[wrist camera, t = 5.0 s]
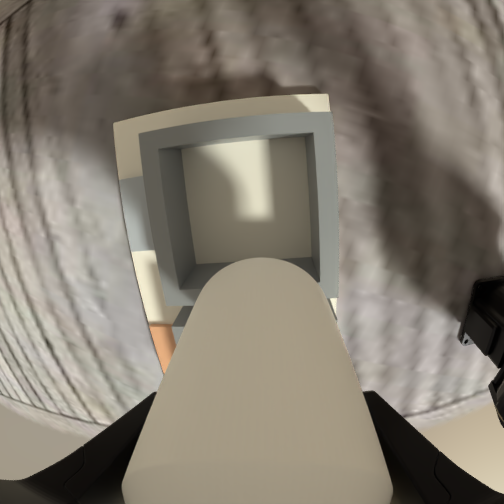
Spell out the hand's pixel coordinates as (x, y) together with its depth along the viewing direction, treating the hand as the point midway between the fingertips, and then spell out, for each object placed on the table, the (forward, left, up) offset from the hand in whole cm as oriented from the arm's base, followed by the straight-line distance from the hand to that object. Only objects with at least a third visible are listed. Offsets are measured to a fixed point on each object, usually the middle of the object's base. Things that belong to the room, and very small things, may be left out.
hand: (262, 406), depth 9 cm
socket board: (+3, +1, -13) cm, 13 cm away
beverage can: (0, 0, -6) cm, 6 cm away
